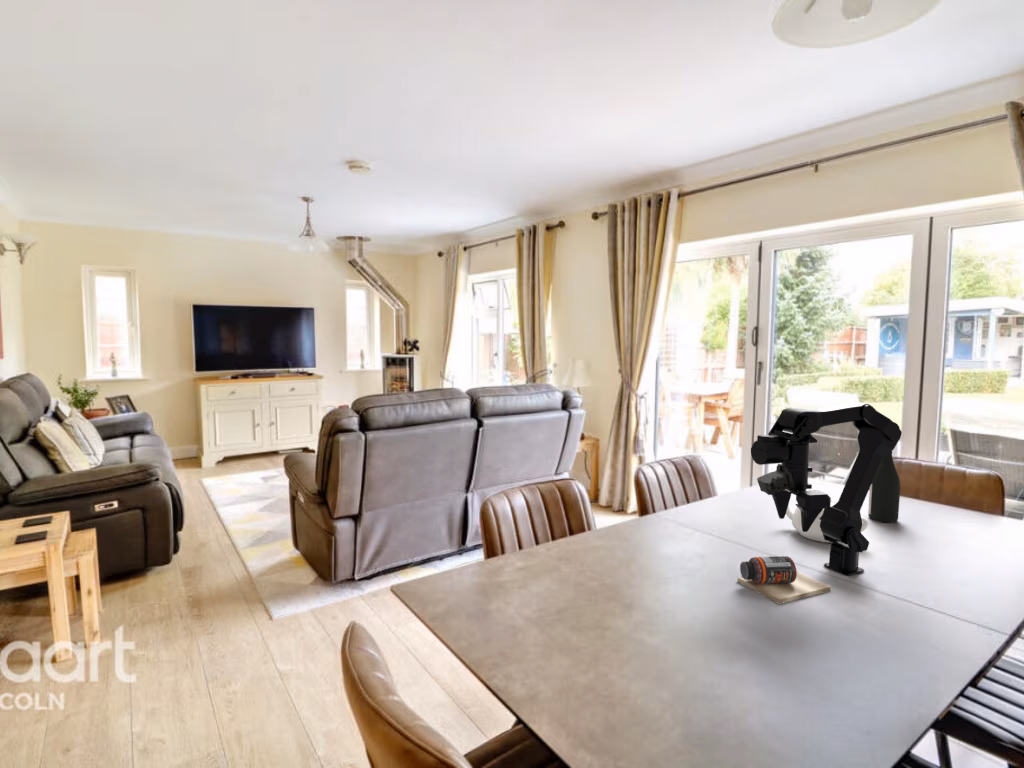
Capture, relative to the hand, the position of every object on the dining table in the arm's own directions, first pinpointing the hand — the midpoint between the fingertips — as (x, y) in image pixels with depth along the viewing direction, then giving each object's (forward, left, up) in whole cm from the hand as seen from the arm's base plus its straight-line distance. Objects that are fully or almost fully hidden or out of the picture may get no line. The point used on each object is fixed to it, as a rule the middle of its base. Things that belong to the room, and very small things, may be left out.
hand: (792, 524), depth 134 cm
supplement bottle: (+5, +4, -9) cm, 11 cm away
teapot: (-31, -17, -13) cm, 37 cm away
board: (+6, +3, -13) cm, 15 cm away
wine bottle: (-63, -19, -13) cm, 67 cm away
